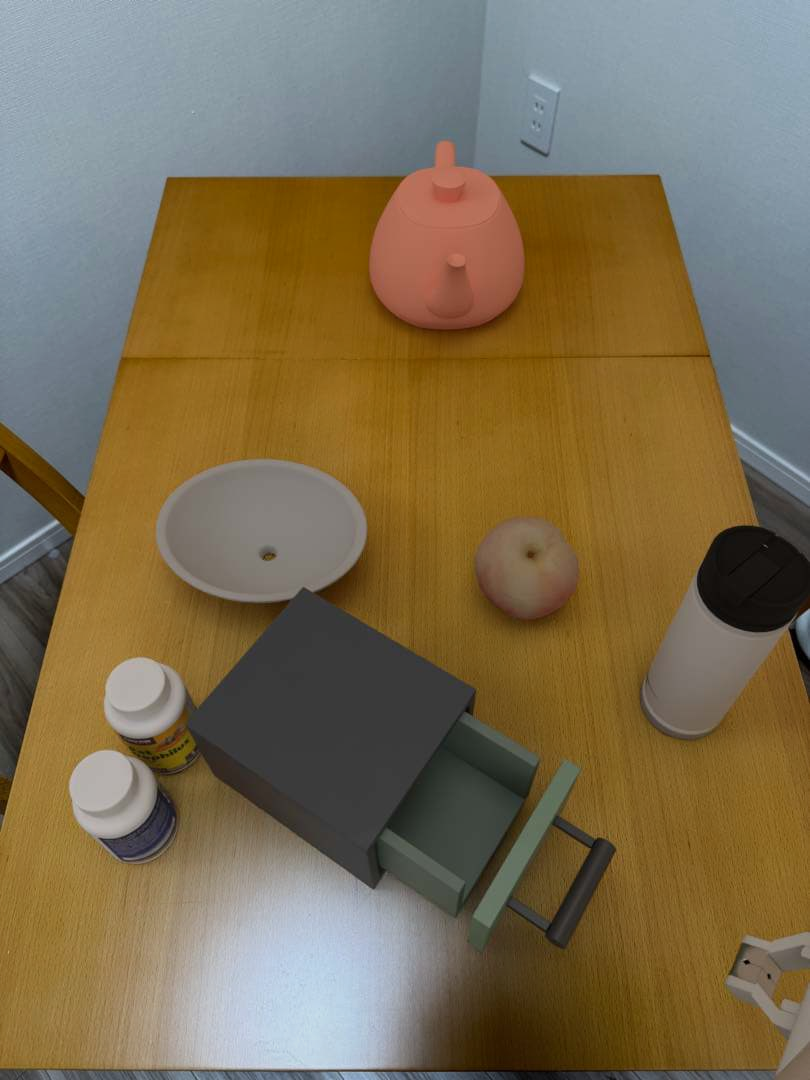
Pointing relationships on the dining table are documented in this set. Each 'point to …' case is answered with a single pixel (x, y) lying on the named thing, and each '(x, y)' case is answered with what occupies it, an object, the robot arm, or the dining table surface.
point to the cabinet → (328, 728)
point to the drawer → (486, 832)
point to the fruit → (526, 567)
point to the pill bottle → (123, 806)
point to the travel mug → (724, 629)
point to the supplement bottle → (151, 714)
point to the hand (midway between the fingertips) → (738, 965)
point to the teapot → (447, 248)
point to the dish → (261, 530)
